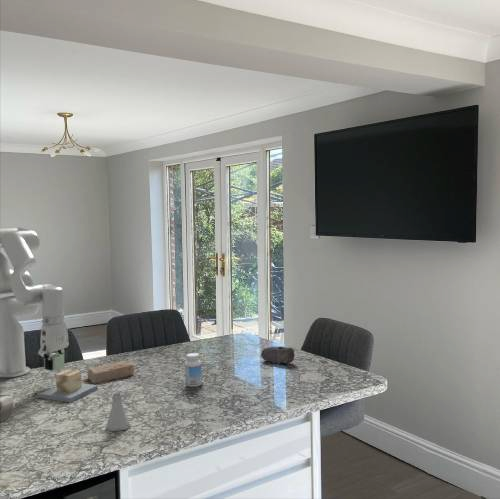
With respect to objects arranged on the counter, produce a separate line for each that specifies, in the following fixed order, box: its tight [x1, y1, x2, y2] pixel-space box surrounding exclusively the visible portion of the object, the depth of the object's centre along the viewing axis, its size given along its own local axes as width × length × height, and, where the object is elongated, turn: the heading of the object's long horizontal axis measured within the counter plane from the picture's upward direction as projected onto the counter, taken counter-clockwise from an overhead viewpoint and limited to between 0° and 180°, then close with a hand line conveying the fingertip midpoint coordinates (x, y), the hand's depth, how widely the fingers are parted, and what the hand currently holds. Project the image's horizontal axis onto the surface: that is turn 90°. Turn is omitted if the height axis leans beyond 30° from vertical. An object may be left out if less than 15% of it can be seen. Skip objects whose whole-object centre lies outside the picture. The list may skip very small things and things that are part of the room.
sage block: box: [43, 352, 65, 372], centre depth 202 cm, size 5×5×5 cm
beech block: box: [55, 369, 82, 393], centre depth 191 cm, size 6×6×6 cm
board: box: [39, 382, 99, 403], centre depth 191 cm, size 14×14×2 cm
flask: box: [105, 392, 131, 432], centre depth 159 cm, size 7×7×10 cm
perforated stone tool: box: [260, 346, 295, 365], centre depth 222 cm, size 15×5×7 cm, turn 56°
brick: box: [87, 360, 135, 384], centre depth 210 cm, size 17×8×5 cm, turn 125°
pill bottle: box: [184, 352, 203, 388], centre depth 197 cm, size 6×6×11 cm
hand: (54, 366), depth 202 cm, fingers closed on sage block, 5 cm apart
